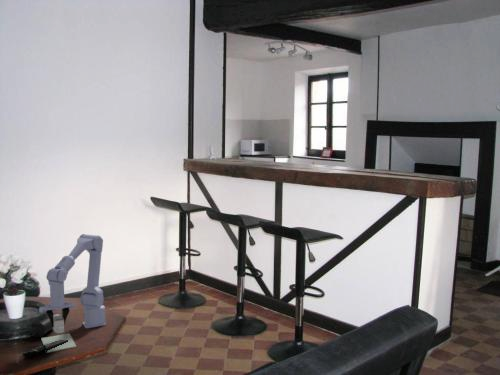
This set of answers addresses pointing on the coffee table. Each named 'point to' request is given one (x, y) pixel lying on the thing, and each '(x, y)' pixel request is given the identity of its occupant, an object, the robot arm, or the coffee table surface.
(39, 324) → the end cap
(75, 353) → the coffee table surface
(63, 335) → the mat
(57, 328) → the connector
